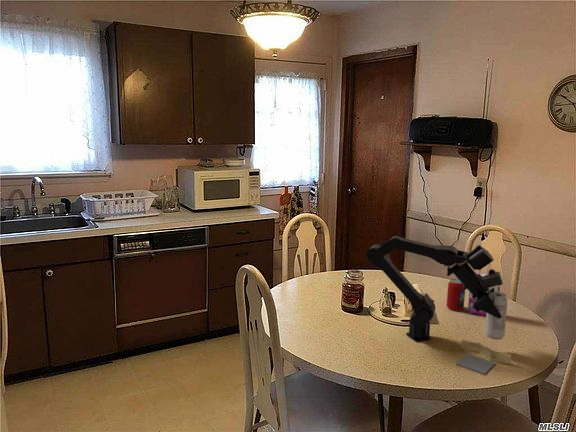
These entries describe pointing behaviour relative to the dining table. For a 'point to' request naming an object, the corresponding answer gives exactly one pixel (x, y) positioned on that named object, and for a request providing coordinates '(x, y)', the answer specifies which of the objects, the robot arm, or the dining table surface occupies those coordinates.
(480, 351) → the zigzag wooden bar
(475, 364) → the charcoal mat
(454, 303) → the beverage can
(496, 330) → the energy drink can
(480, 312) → the candy bar box
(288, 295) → the dining table surface
